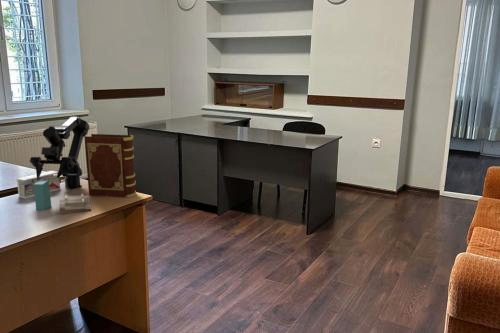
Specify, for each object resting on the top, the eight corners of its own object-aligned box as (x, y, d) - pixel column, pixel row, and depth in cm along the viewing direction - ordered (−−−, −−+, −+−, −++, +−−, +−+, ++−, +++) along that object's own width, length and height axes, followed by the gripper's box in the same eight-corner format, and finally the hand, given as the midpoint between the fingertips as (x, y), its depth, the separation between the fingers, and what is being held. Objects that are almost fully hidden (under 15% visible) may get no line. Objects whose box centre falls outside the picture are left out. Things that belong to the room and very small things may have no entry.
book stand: (59, 201, 198) (58, 193, 197) (88, 198, 203) (88, 190, 202) (59, 214, 181) (58, 205, 180) (91, 210, 186) (90, 202, 185)
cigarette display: (25, 198, 201) (23, 180, 199) (18, 196, 204) (16, 178, 202) (62, 188, 218) (60, 171, 216) (55, 187, 221) (54, 170, 219)
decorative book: (138, 193, 213) (135, 135, 205) (132, 197, 205) (129, 137, 198) (96, 191, 215) (91, 133, 207) (88, 195, 207) (83, 136, 200)
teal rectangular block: (42, 205, 192) (39, 180, 189) (51, 205, 192) (48, 180, 189) (36, 210, 186) (33, 184, 183) (45, 210, 186) (42, 184, 183)
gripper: (29, 139, 194) (19, 168, 185) (69, 140, 194) (61, 168, 186) (39, 152, 203) (30, 180, 195) (77, 153, 203) (70, 181, 195)
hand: (47, 177), depth 192 cm, fingers open, 9 cm apart
